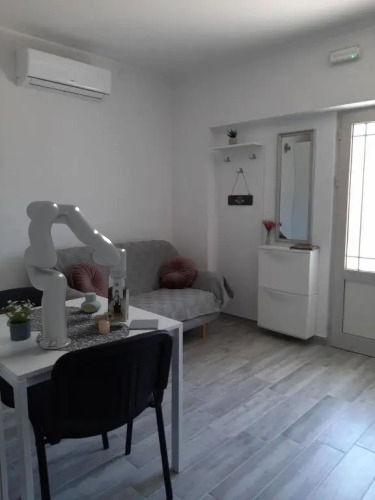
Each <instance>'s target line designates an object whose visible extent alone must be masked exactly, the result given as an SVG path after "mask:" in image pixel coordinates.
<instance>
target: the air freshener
mask: <svg viewBox="0 0 375 500" xmlns="http://www.w3.org/2000/svg"><path fill="white" fill-rule="evenodd" d="M101 308H102V303H101V301H99V300H97V293H96V292H93V291H92V292H85V293H84V301H83V302H82V303H81V304H80V309H81V310H82V311H83V312H85V313H87V314H90V313H91V314H92V313H96V312H98V311H99V310H100V309H101Z"/></svg>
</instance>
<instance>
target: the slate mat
mask: <svg viewBox="0 0 375 500" xmlns="http://www.w3.org/2000/svg"><path fill="white" fill-rule="evenodd" d="M129 330H132V331H133V330H134V331H135V330H159V319H154V318H153V319H132V321H131V324H130V326H129Z"/></svg>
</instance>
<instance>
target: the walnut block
mask: <svg viewBox="0 0 375 500" xmlns="http://www.w3.org/2000/svg"><path fill="white" fill-rule="evenodd" d="M101 320H107V314H106V315H104V314H96V315H95V317H94V328H95V329H97V328H98V329H99V321H101Z"/></svg>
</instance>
